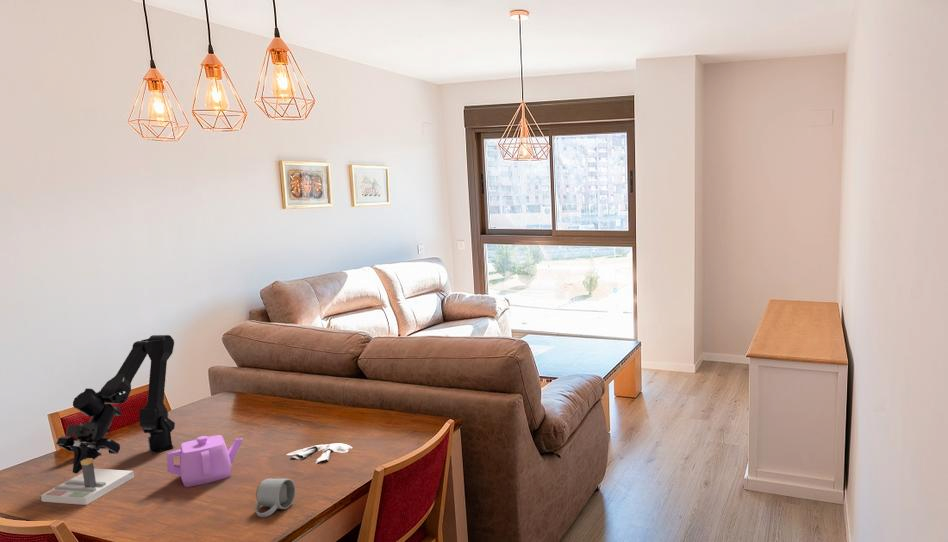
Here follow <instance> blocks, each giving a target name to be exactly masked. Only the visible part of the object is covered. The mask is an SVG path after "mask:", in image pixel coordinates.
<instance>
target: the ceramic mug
mask: <svg viewBox="0 0 948 542" xmlns="http://www.w3.org/2000/svg"><path fill="white" fill-rule="evenodd" d="M295 497H296V485H295V482H294V481H293V480H292V479H291V478H266V479H263V480H262V481H260V483H259V484H258V486H257V488H256V492H255V498H256V501H257V503H256V505H255V506H254V512H255V513H256V515H257V516H258V517H259V518H267V517H270V516H271V515H273V513H275V511H276V510H277V509H278V510H279V509H280V510H286V509H288V508H289V507H291V505H292V504H293V502H294V500H295ZM261 506H262V507H266V508H269V509H268V510H266V511H264V512H260V510H259V509H260V508H261Z"/></svg>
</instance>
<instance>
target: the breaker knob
mask: <svg viewBox="0 0 948 542" xmlns="http://www.w3.org/2000/svg"><path fill="white" fill-rule="evenodd" d="M81 465H82V470H81V471H82V473H83V477H84V484H85V487H91V488H93V487H94V486H96V480H95V473H94V469H95V468H94V460H93V458H86V459H84V460H82V461H81Z"/></svg>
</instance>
